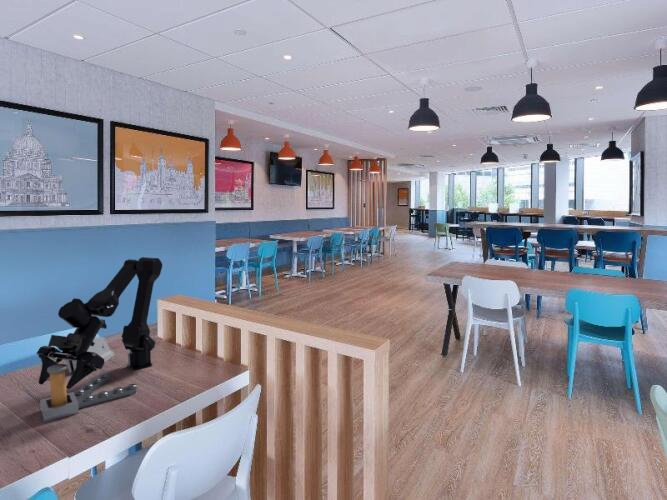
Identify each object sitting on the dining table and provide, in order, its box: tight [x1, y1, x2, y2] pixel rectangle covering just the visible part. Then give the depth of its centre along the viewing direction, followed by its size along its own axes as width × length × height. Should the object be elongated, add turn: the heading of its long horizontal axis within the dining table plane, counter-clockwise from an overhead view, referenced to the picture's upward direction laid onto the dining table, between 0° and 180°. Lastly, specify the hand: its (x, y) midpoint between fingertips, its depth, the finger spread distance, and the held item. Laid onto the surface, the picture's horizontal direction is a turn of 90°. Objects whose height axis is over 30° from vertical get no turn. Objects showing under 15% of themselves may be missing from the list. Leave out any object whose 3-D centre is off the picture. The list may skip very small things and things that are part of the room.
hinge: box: [66, 336, 116, 374], centre depth 147 cm, size 17×5×10 cm, turn 170°
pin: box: [47, 363, 68, 407], centre depth 114 cm, size 5×5×13 cm
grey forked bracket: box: [39, 371, 138, 423], centre depth 125 cm, size 24×19×3 cm
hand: (53, 386), depth 113 cm, fingers open, 9 cm apart
